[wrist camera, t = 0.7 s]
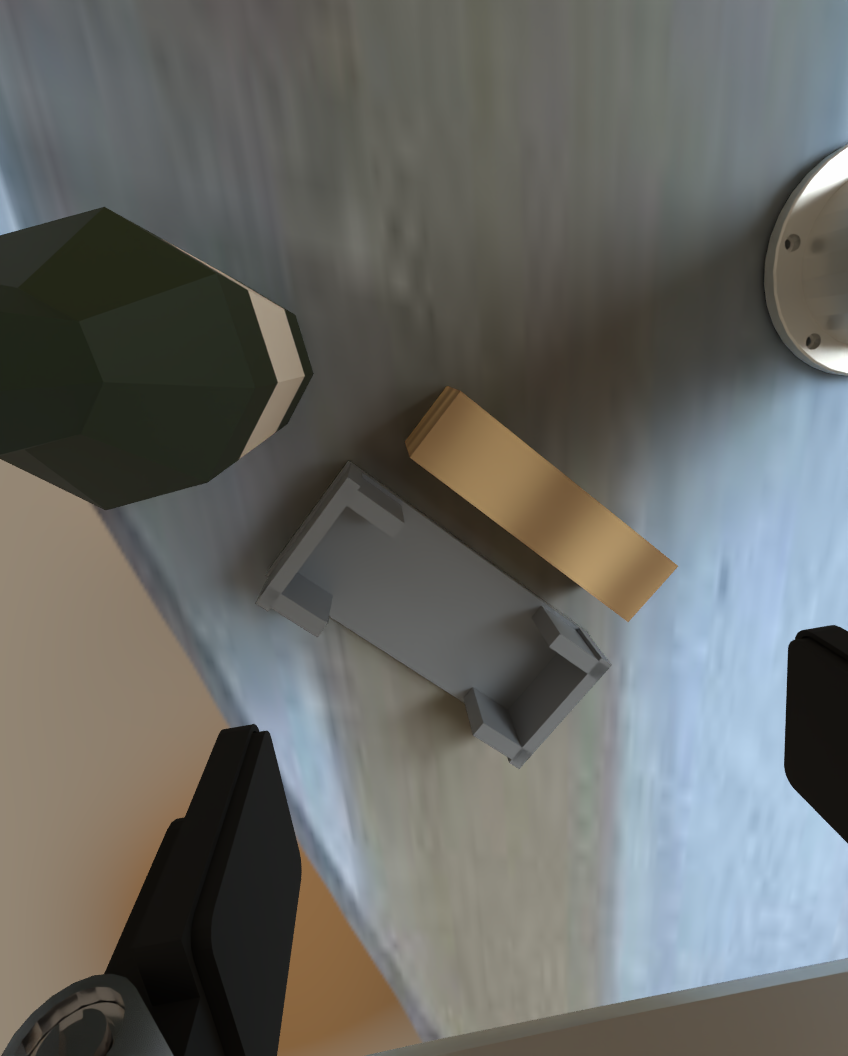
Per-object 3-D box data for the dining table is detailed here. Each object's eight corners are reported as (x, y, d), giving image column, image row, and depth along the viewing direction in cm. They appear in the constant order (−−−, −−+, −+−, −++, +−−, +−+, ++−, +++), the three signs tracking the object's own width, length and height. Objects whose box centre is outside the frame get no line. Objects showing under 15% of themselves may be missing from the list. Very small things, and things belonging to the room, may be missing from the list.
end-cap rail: (267, 571, 36) (252, 601, 32) (348, 460, 35) (344, 474, 30) (505, 725, 41) (521, 770, 36) (587, 631, 39) (614, 666, 35)
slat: (404, 441, 35) (409, 457, 29) (446, 385, 34) (460, 391, 29) (590, 582, 38) (628, 622, 33) (632, 534, 38) (678, 566, 32)
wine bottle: (307, 447, 34) (-46, 904, 6) (157, 429, 34) (-1177, 862, 5) (320, 294, 32) (-148, -231, 3) (160, 270, 31) (-2270, -711, 3)
